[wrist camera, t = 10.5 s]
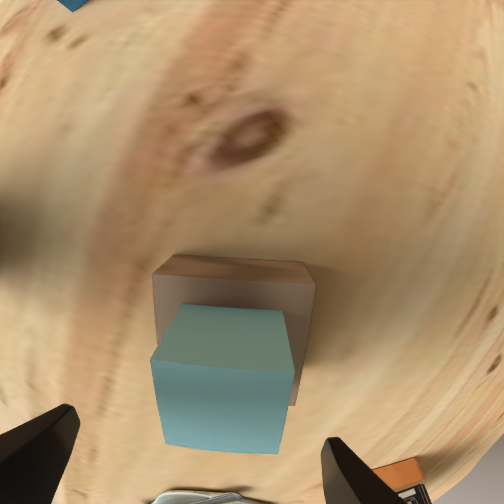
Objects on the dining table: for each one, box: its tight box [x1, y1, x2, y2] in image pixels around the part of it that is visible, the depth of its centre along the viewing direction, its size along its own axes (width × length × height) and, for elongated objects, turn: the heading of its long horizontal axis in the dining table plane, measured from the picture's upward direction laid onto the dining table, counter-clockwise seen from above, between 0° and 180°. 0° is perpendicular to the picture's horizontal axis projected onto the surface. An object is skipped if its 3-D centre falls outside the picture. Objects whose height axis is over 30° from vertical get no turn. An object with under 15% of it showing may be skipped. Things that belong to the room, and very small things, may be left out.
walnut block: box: [152, 255, 316, 406], centre depth 16 cm, size 8×8×4 cm
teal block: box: [150, 304, 295, 454], centre depth 12 cm, size 5×5×5 cm
